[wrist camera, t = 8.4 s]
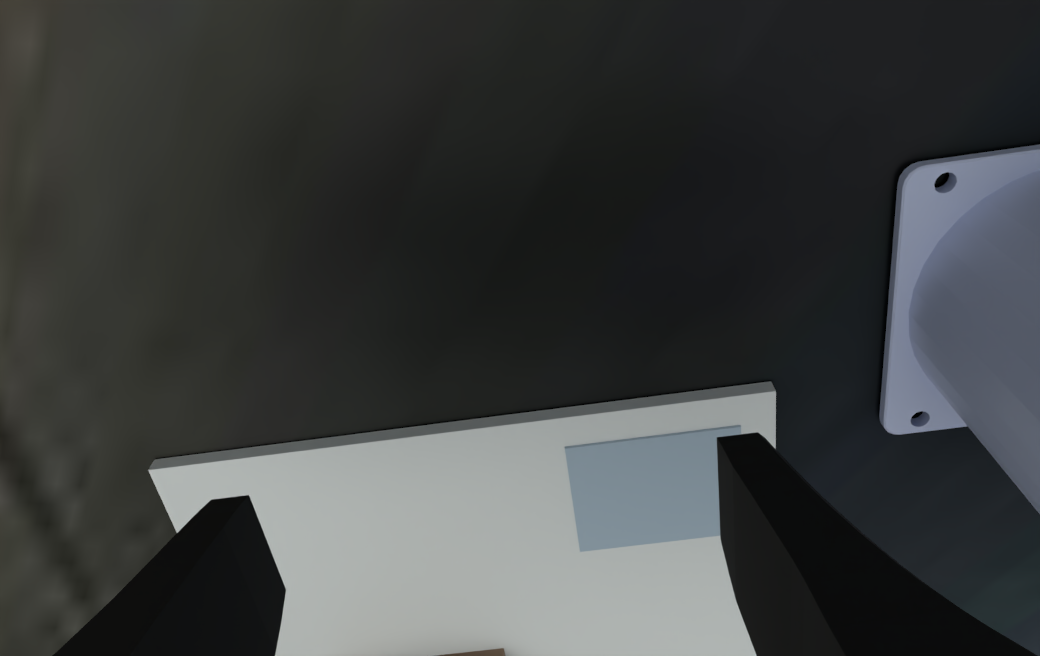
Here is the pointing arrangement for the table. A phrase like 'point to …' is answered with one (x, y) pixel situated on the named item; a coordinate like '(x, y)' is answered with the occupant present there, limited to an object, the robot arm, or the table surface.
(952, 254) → the robot arm
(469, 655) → the walnut block
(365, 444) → the board
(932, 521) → the table surface
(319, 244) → the table surface
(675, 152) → the table surface
